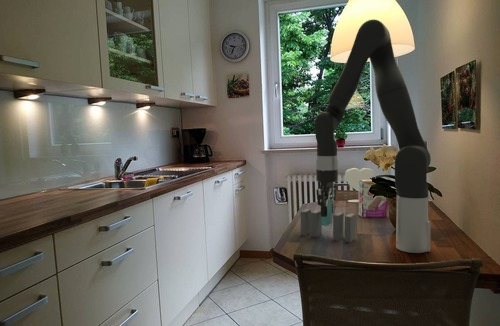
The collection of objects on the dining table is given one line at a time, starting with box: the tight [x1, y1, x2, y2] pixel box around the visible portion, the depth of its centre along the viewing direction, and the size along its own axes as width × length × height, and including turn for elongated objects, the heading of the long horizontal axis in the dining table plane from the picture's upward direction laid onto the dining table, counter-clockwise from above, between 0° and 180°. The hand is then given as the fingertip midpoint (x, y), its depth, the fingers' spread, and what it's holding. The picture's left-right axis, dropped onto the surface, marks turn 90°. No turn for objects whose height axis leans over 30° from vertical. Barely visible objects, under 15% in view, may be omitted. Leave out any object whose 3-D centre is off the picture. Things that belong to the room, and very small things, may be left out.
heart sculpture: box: [344, 167, 377, 203], centre depth 196 cm, size 16×5×18 cm, turn 78°
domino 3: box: [322, 199, 333, 227], centre depth 131 cm, size 2×5×9 cm, turn 147°
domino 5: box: [344, 213, 356, 243], centre depth 127 cm, size 2×5×9 cm, turn 147°
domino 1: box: [300, 208, 312, 237], centre depth 136 cm, size 2×5×9 cm, turn 146°
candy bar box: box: [358, 180, 388, 219], centre depth 160 cm, size 11×5×16 cm, turn 92°
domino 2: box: [310, 209, 323, 238], centre depth 134 cm, size 2×5×9 cm, turn 147°
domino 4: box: [332, 211, 345, 242], centre depth 129 cm, size 2×5×9 cm, turn 146°
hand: (326, 214), depth 131 cm, fingers closed on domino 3, 5 cm apart
